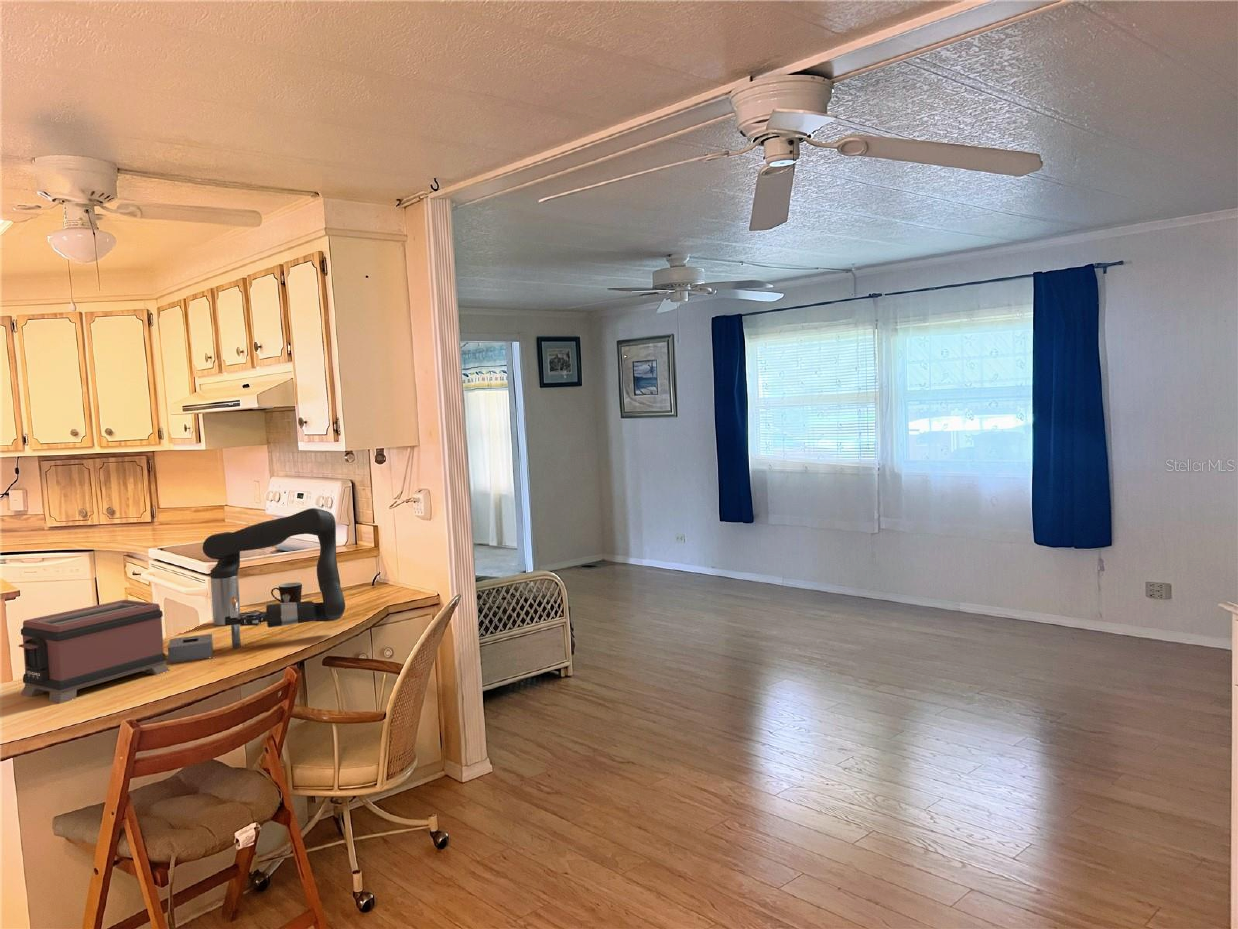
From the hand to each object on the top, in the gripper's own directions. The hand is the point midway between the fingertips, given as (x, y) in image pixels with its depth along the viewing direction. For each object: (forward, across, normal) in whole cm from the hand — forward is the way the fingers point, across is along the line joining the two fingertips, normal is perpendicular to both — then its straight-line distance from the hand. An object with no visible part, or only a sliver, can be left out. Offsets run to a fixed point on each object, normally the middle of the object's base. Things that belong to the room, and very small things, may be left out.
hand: (225, 621), depth 274 cm
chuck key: (-3, 0, +9) cm, 9 cm away
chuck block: (+10, +4, +9) cm, 14 cm away
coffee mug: (-22, -51, +9) cm, 56 cm away
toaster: (+35, +21, +9) cm, 42 cm away
